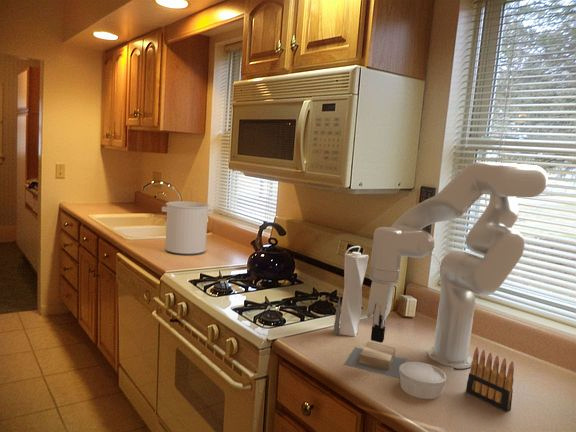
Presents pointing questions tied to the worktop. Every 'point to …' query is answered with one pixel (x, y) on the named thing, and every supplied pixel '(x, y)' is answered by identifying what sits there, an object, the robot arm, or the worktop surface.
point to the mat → (393, 370)
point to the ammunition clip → (491, 381)
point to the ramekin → (422, 380)
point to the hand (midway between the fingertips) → (377, 340)
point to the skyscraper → (351, 294)
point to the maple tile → (377, 355)
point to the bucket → (186, 227)
